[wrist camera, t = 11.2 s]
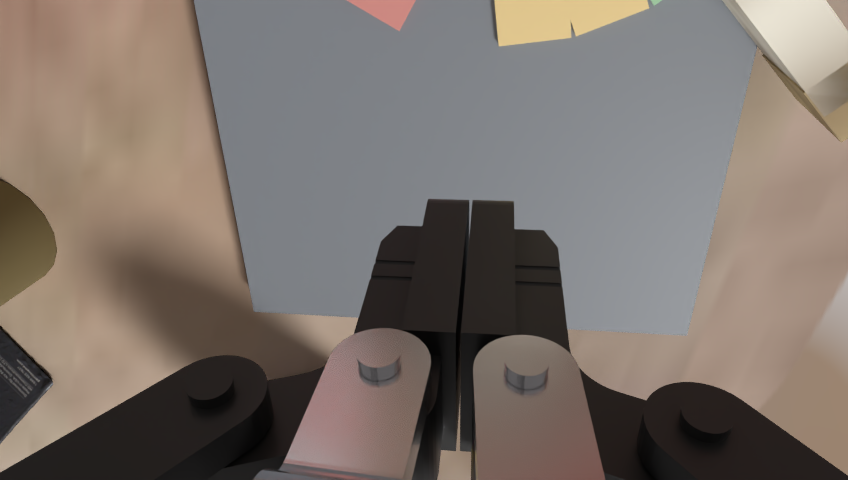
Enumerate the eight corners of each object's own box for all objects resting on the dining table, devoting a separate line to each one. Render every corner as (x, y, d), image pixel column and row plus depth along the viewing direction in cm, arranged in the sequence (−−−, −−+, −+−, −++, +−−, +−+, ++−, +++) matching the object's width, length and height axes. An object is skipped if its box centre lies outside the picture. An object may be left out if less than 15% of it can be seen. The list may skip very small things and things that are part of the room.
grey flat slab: (136, -395, 19) (108, -411, 17) (856, -439, 17) (885, -461, 15) (262, 296, 31) (251, 315, 30) (680, 318, 29) (688, 340, 28)
